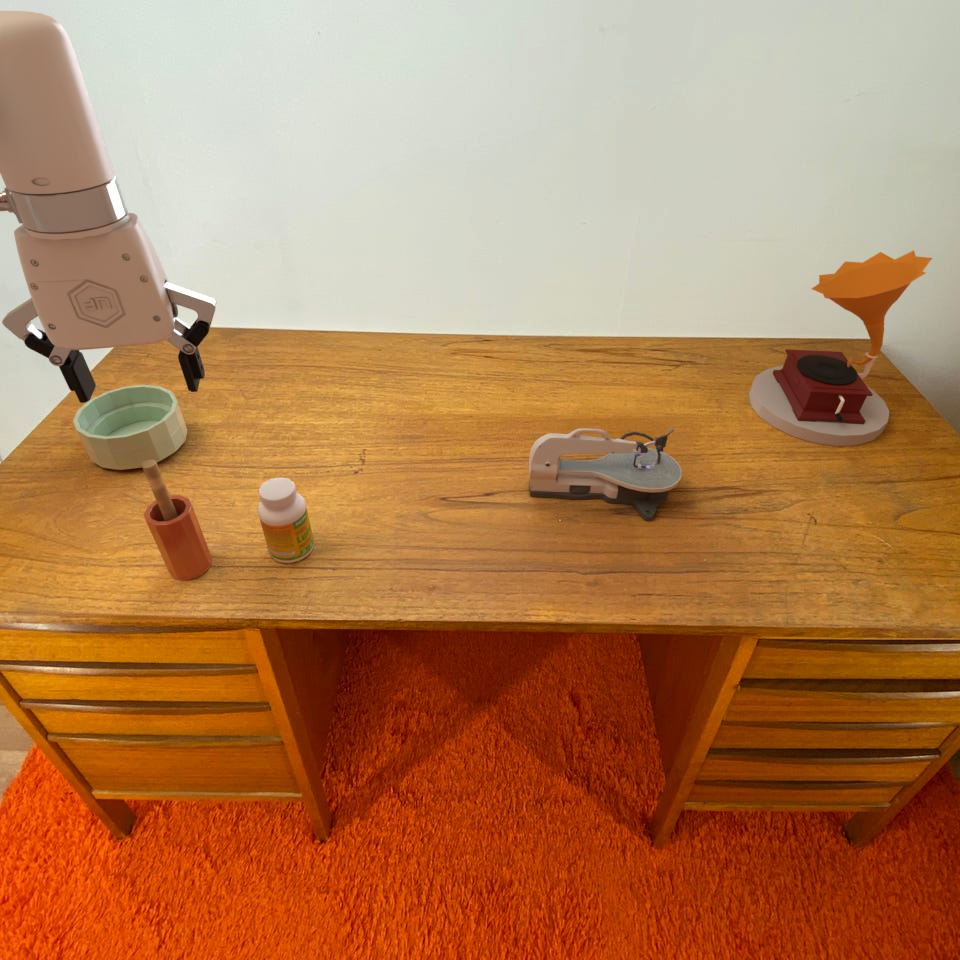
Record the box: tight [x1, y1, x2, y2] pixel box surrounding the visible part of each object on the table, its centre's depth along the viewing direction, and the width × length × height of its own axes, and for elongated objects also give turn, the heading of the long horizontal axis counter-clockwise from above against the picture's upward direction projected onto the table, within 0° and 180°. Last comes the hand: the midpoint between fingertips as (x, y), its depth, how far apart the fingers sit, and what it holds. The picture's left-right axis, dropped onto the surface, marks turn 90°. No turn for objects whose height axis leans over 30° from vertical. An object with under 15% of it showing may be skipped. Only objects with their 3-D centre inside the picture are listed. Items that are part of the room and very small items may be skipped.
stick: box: [141, 460, 178, 521], centre depth 70 cm, size 1×1×15 cm
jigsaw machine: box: [528, 427, 683, 522], centre depth 84 cm, size 20×11×12 cm
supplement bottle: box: [257, 477, 315, 564], centre depth 75 cm, size 5×5×10 cm
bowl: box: [72, 384, 189, 471], centre depth 91 cm, size 13×13×6 cm
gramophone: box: [748, 250, 933, 447], centre depth 95 cm, size 20×20×25 cm
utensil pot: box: [143, 494, 213, 581], centre depth 73 cm, size 5×5×9 cm
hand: (142, 389), depth 62 cm, fingers open, 9 cm apart
